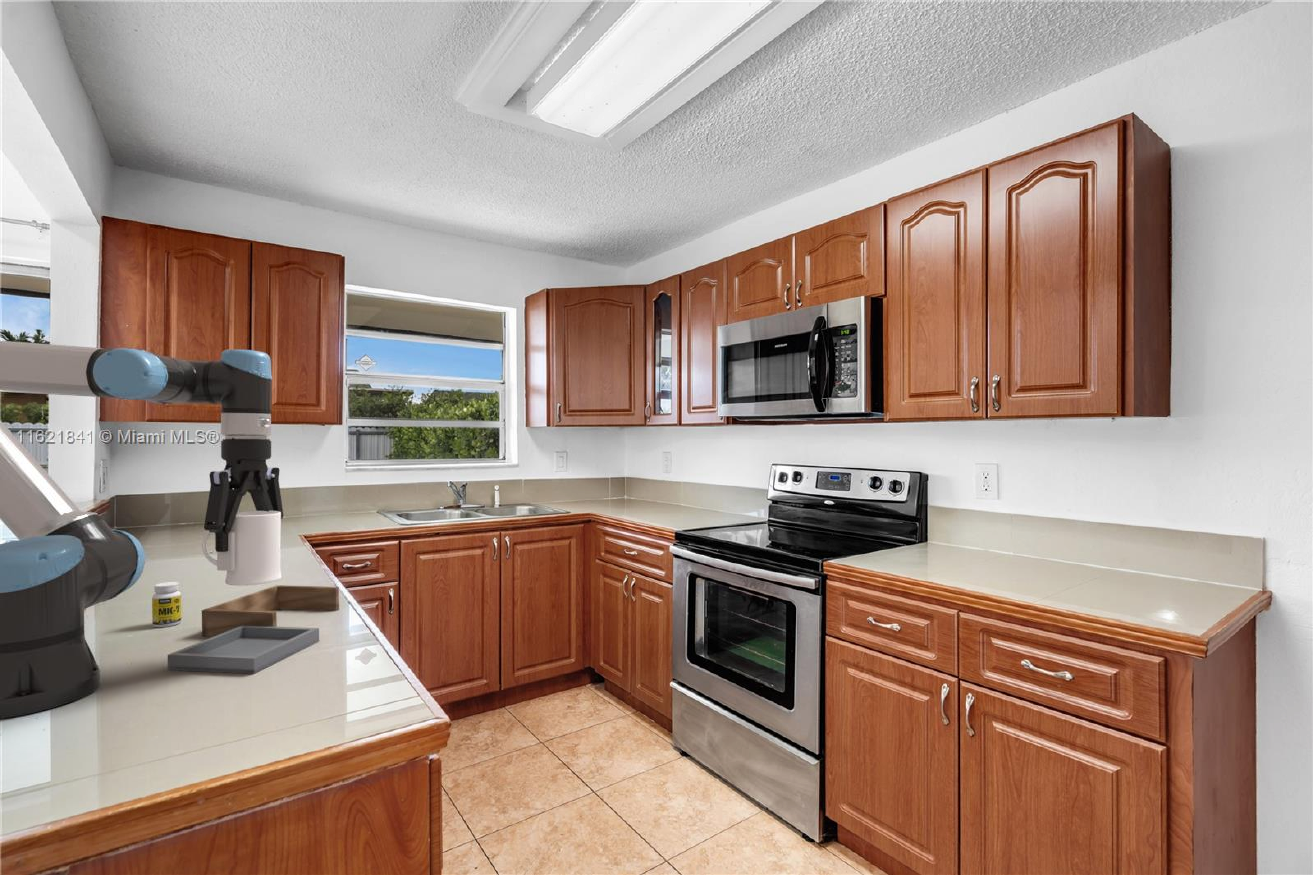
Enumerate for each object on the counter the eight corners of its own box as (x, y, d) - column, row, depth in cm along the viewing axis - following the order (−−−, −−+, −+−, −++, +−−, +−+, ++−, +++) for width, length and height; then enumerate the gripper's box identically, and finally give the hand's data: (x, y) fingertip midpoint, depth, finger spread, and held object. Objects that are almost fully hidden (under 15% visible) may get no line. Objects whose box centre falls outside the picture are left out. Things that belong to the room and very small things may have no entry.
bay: (273, 638, 121) (272, 612, 121) (202, 635, 124) (201, 610, 123) (339, 609, 141) (338, 586, 141) (277, 607, 143) (276, 585, 143)
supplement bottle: (156, 629, 128) (155, 587, 128) (149, 625, 131) (148, 584, 131) (185, 623, 132) (184, 583, 132) (177, 619, 135) (176, 580, 135)
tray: (254, 673, 104) (254, 658, 104) (167, 669, 106) (167, 654, 106) (319, 641, 120) (319, 628, 120) (242, 638, 122) (242, 625, 122)
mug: (198, 589, 106) (199, 518, 106) (206, 579, 113) (207, 512, 113) (280, 582, 111) (281, 514, 111) (282, 573, 119) (283, 509, 119)
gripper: (218, 438, 102) (217, 578, 102) (305, 437, 123) (305, 554, 123) (175, 437, 103) (175, 577, 103) (270, 437, 124) (269, 552, 124)
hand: (246, 564), depth 113 cm, fingers closed on mug, 8 cm apart
